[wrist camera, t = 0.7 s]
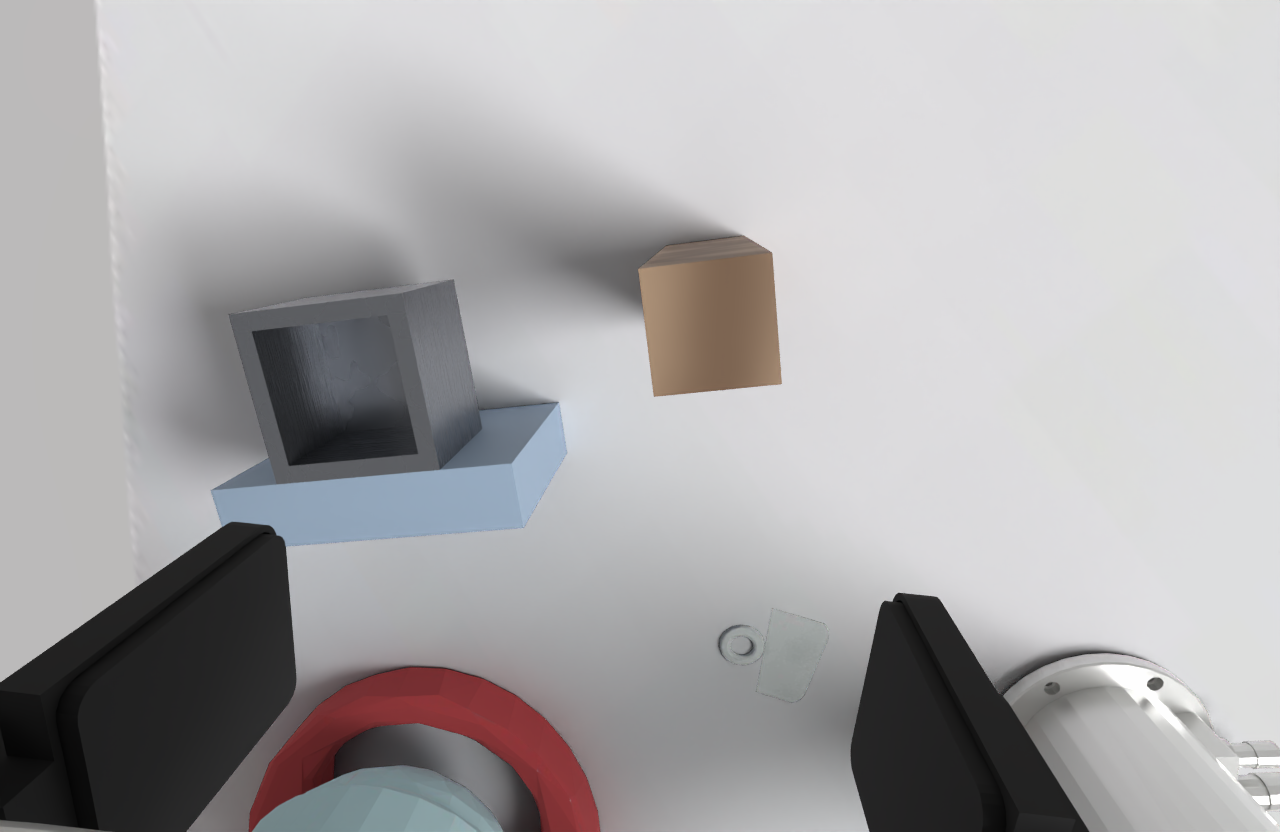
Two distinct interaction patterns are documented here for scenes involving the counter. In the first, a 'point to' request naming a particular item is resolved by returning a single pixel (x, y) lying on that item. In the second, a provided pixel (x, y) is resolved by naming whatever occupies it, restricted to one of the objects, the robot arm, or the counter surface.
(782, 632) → the mounting bracket
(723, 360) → the walnut rail
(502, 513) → the slate-blue board
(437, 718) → the stand mixer
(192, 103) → the counter surface
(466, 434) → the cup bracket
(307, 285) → the counter surface
